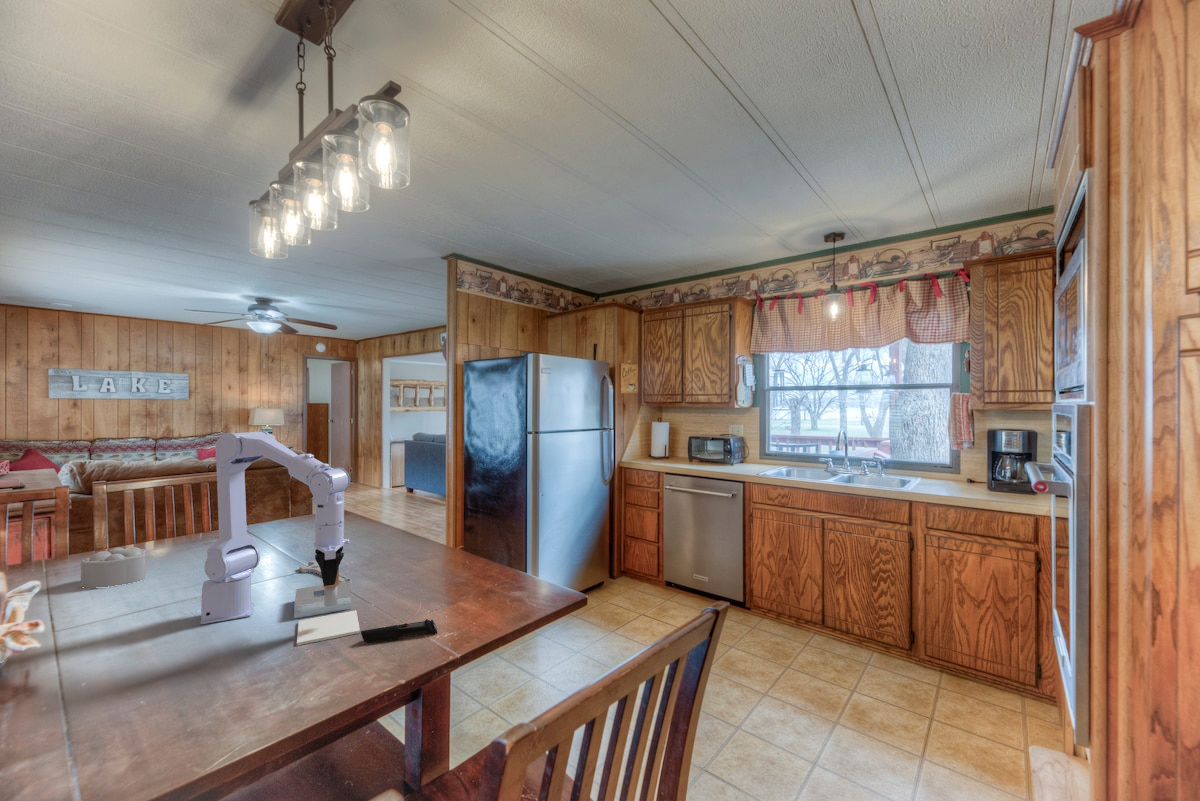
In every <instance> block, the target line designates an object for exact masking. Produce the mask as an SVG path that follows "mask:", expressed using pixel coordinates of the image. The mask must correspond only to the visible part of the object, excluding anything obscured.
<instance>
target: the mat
mask: <svg viewBox="0 0 1200 801" xmlns="http://www.w3.org/2000/svg"><path fill="white" fill-rule="evenodd" d="M358 617H359V616H358V612H357V610H356V609H355V610H350V611H344V612H340V613H333V614H332V613H331V614H327V615H324V616H316V617H312V618H306V619H299V620H298V624H297V625H298V626H297V635H296V636H297V637H296V646H297V647H298V646H302V645H308V644H312V643H316V642H323V641H327V640H332V639H338V638H341V637H347V636H353V635H357V634H361V629H360V623H359V618H358Z"/></svg>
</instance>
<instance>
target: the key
mask: <svg viewBox="0 0 1200 801" xmlns="http://www.w3.org/2000/svg"><path fill="white" fill-rule="evenodd" d="M339 574H340V567H339V568H338V572H337V577H336V581H335V584H334V585H329V586H324V584H323V583H322V585H323V587H324V606H326V607H330V606H334V605H336V604H337V586H339Z"/></svg>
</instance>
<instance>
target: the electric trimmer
mask: <svg viewBox="0 0 1200 801" xmlns="http://www.w3.org/2000/svg"><path fill="white" fill-rule="evenodd" d="M435 633H436V634H438V629H437V626H436V623H435V621H434V620H433V619H431V620H429V619H427V618H426V619H425V620H423V621H418V622H412V623H411V622H410V623H403V624H395V625H388V626H384V627H378V628H377V627H376V628H371V629H365V630H364V629H363V630H360V635H361V637H362V638H361V639H362V640H363V642H365V643H370V642H371V643H372V642H389V641H396V640H398V639H399V638H407V637H414V636H420V635H428V634H431V635H432V634H434V635H435Z"/></svg>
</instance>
